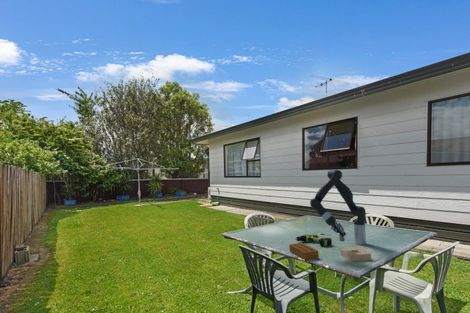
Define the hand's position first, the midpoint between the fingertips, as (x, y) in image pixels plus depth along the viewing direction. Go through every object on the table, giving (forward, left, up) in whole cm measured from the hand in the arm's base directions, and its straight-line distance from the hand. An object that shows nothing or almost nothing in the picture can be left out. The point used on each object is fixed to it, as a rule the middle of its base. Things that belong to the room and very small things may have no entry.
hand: (344, 235), depth 216 cm
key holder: (+5, +5, -16) cm, 17 cm away
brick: (-8, -31, -16) cm, 36 cm away
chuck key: (-1, -1, -5) cm, 5 cm away
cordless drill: (-37, -14, -16) cm, 43 cm away
